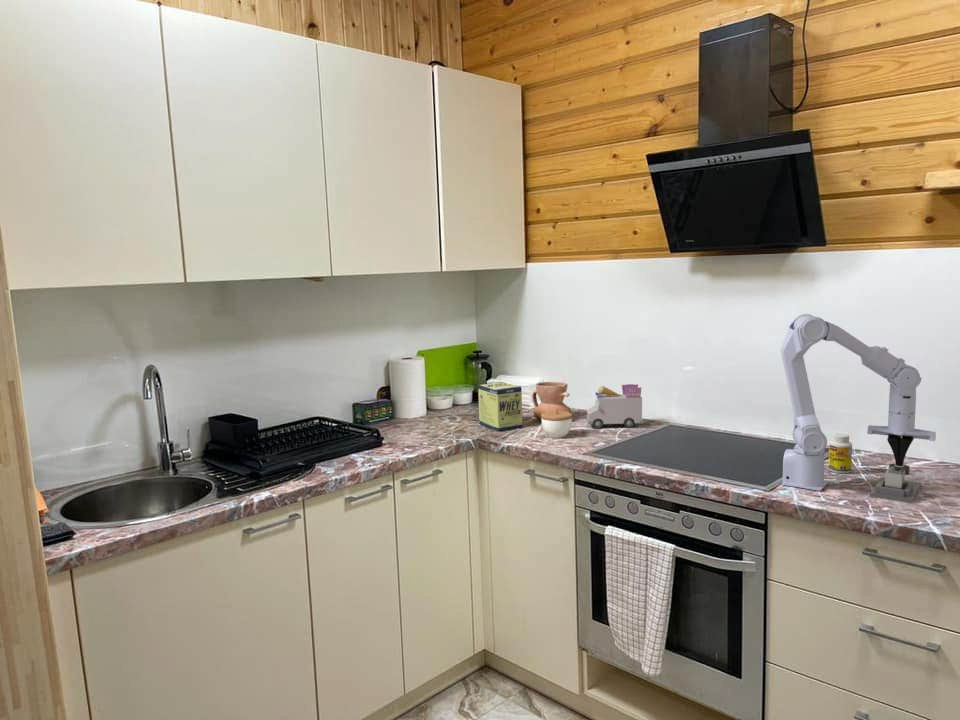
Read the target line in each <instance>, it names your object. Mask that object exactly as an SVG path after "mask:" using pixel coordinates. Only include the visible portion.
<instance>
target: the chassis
mask: <svg viewBox="0 0 960 720" xmlns="http://www.w3.org/2000/svg"><path fill="white" fill-rule="evenodd" d="M922 483H923V482H919V481H911V480H906V479H904V490H901V489H895V488H888V487H885V477H884V476H881V477H880V478H879V479H878V480H877V482H876V483H875V485H874V486H873V487H872V489H871V491H870V492H869V497H871V498H877V499H882V500H883V499H884V500H890V501H895V502H902V503H903V502H904V503H909V504H913V503H914V502H915V500H916V498H917V496H918V494H919V492H920V490H921V488H922Z"/></svg>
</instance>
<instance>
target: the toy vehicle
mask: <svg viewBox="0 0 960 720" xmlns="http://www.w3.org/2000/svg"><path fill="white" fill-rule="evenodd" d="M621 390H622V394H620V393H617V392H615V391H614V390H612V389H609V388H608V387H606V386H604V385H602V386H599V387H598V388H597V391H595V396H596V400H595V405H594V406H592V407H591V408H590V407H589V408H588V409H587V410H586V417H585V420H586V422H587V424H588V425H592V427H593V428H595V429H597V430H599V429H601V428H603V425H615V424H616V425H618V424H620V425H621V424H623V425H624V426H625V428H627V429H632V428H633V427H636V425H637V424H644V420H643V397H642V396H641V394H642V387H641V386H640V387H639V384H638V383H637V384H633V383H631V384H629V383H627V384H621Z"/></svg>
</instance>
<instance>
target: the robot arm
mask: <svg viewBox="0 0 960 720" xmlns="http://www.w3.org/2000/svg"><path fill="white" fill-rule="evenodd" d="M822 340H823V341H825V342H835V343H836V344H838V345H840V346H841V347H843V348H845V349H847V350H848V351H850V352H852V353H854V354H856V355H857V356H859V357H860V358H861V359H860V360H861V364H862V365H863V366H865V368H868V369H869V370H871V371H872V372H874V373H875V374H877V375H879V376H880V377H881V378H884V379H886V380H887V382H888V383H889V395H888V398H889V399H888V414H887V415H888V417H887V419H888V420H887V425H871V424H869V425H868V426H867V435H881V436H887V438H886V440H887V442H888V444H889V447H890V449H891V450H892V454H893V456H894V462H895V464H896V465H897V466H903V464H904V462H905V458H906V454H907V452H908V450H909V448H910V446H911V444H912V443H913V441H914V440H915V439H919V440H927V441H928V440H929V441H931V442H935V441H936V437H937V434H936V433H937V431H931V430H930V431H929V430H924V429H919V428H915V426H916V410H917V409H916V408H917V407H916V406H917V405H916V404H917V387H919V386H920V384H921V382H922V377H921V375H920V372H919V370H918V369H917V368H915V367H914V366H912V365H908V364H906V363H905V362H906V360H905V359H903V358H901V357H900V358H898V357H896V356H895V355H893V354H892V353H890V352H888V351H889V348H887V347H885V346H881V347H880V346H878V345H874V346H868V345H867V344H866V343H864V342H862V341H861V340H859V339H858V338H857V337H855V336H854V335H852V334H850V333H849V332H848V331H846V330H845V329H843V328H842V327H840V326H838V325H836V324H834V323H831V322H829V321H826V320H824V319H823V318H821V317H818V316H814V315H811V314H808V313H807V314H806V313H804V314H803V313H802V314H801V315H798V316H797V317H796V318H794V320H793V321H792V322H791V323H790V324H789V325H788V330H787V332H786V335H785V337H784V341H783V342H782V345H781V349H780V353H781V360H782V364H783V368H784V372H785V377H786V382H787V388H788V391H789V397H790V401H791V406H792V411H793V415H794V416H793V424H794V425H793V426H794V427H793V430H792V438H793V440H794V441H795V443H796V444H795V445H794V447H793V448H792V449H791V448H786V449H785V451H784V454H783V459H782V460H783V461H782V482H781V485H782V486H786V487H794V488H801V489H807V490H812V491H813V490H814V491H819V492H820V491H822V490H823V489H824V488H825V487H826V486H827V485H828V483H829V481H828V480H824V479H825V449H826V448H827V446H828V439H827V436H826V435H825V433H823V431H822V430H821V425H820V422H819V421H818V418H817V415H816V412H815V406H814V402H813V396H812V393H811V386H810V383H809V377H808V373H807V372H808V371H807V369H806V364H805V357H804V355H805V354H806V353H807V352H808V350H810V348H811V347H812V346H813V345H816V344H817V343H819V342H821V341H822Z"/></svg>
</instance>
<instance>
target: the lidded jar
mask: <svg viewBox="0 0 960 720" xmlns="http://www.w3.org/2000/svg"><path fill="white" fill-rule="evenodd" d="M572 417H573V413H572V412H571V413H569V412H564V411H558V410H557V409H555V411H551V412H545V413H542V414H541V420H540V421H541V428H542V430H543V432H544V433H545V434H546V435H547V436H549V437H548V438H550V437H552V438H551V439H563V438H565V437H566V436H567V435H568V434H569V432H570V431H571V428H572V423H573V420H572V419H573V418H572ZM562 437H563V438H562Z"/></svg>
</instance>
